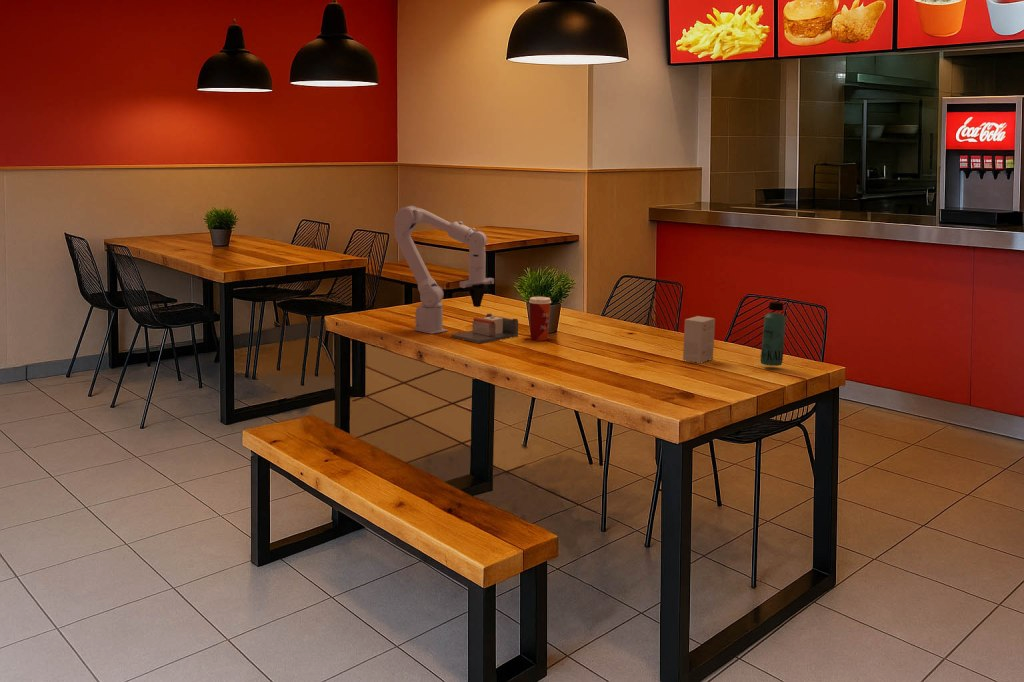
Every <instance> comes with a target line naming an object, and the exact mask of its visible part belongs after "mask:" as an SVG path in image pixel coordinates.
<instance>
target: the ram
mask: <svg viewBox="0 0 1024 682" xmlns="http://www.w3.org/2000/svg"><path fill="white" fill-rule="evenodd" d="M495 325H496V323H495V322H494V321H489V320H484V319H482V318H479V317H478V318H477V317H473V321H472V331H473V333H477V334H481V335H486V336H493V335H495Z"/></svg>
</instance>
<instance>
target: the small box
mask: <svg viewBox="0 0 1024 682" xmlns="http://www.w3.org/2000/svg"><path fill="white" fill-rule="evenodd" d="M715 328H716V318H714V317H707V316H700V315H696V316H693V317H690V318H685V319H684V330H683V331H684V332H683V353H682V361H683V360H686V361H685V362H688V361H692V362H691V363H693V362H698V363H697V364H699V363H701V362H704V361H706V362H708V361H707V360H709V361H711V360H710V359H712V360H714V345H715ZM704 363H705V362H704ZM701 364H702V363H701Z"/></svg>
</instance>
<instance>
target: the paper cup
mask: <svg viewBox="0 0 1024 682" xmlns="http://www.w3.org/2000/svg"><path fill="white" fill-rule="evenodd" d="M528 303H529V321H530V323H529V325H530V326H529V328H530V339H531V340H532V341H535V340H539V341H538V342H543V341H542V340H545V341H548V339H549V329H550V328H549V325H550V314H551V313H550V312H551V304H552V300H551V298H550V297H547V296H531V297H530V298H529V300H528Z"/></svg>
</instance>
